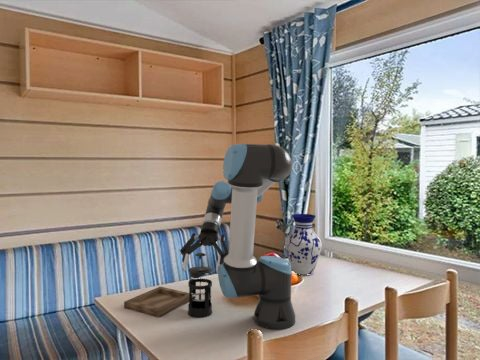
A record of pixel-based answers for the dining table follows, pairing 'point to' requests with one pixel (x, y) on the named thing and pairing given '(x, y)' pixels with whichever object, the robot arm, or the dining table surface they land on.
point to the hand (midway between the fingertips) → (200, 271)
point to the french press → (200, 301)
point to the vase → (303, 245)
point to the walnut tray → (157, 301)
